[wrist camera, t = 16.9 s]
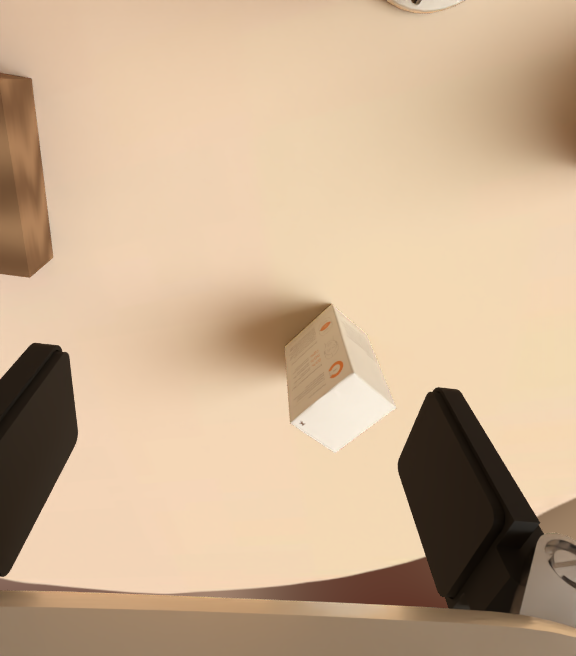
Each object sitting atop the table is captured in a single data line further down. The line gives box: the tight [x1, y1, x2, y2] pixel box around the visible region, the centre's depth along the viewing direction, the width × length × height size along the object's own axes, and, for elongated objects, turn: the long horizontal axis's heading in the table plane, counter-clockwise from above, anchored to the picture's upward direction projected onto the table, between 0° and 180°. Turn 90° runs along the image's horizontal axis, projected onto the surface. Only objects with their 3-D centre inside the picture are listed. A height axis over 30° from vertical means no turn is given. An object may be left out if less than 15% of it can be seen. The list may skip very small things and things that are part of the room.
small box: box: [284, 304, 396, 453], centre depth 44 cm, size 8×6×13 cm
